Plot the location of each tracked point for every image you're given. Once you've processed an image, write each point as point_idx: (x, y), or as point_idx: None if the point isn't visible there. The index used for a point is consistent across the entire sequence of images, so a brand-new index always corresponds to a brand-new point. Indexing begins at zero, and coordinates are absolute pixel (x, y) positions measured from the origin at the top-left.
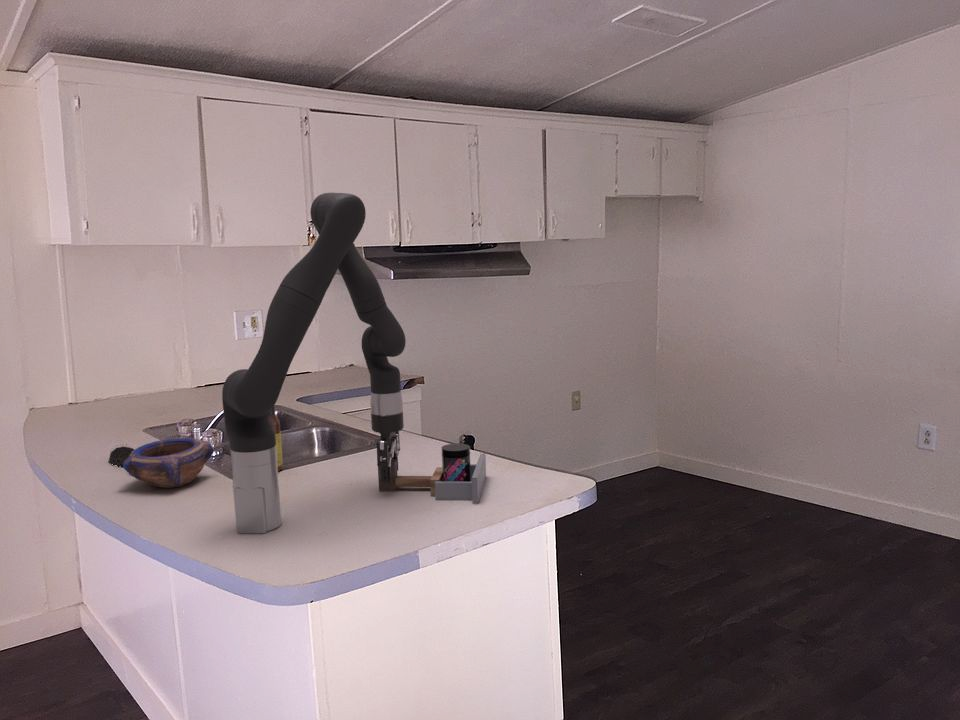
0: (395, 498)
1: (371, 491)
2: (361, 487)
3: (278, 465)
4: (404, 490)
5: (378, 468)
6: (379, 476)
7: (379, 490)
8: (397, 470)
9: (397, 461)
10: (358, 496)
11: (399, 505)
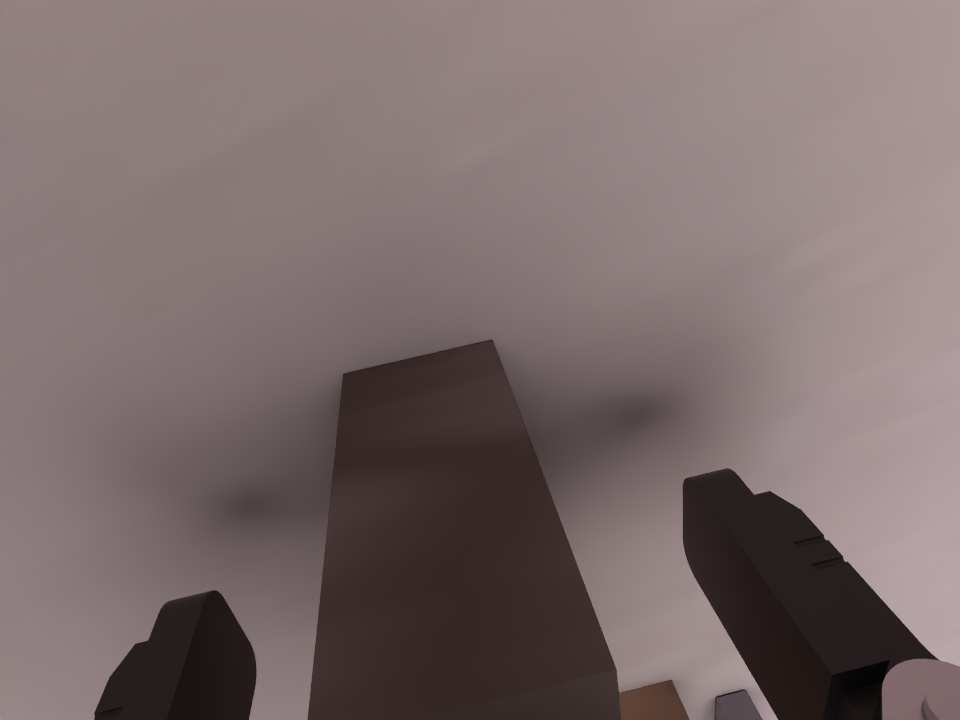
0: None
1: (311, 291)
2: (438, 65)
3: None
4: None
5: (318, 629)
6: (334, 517)
7: (346, 384)
8: (691, 568)
9: (766, 691)
10: (38, 214)
11: (27, 700)
